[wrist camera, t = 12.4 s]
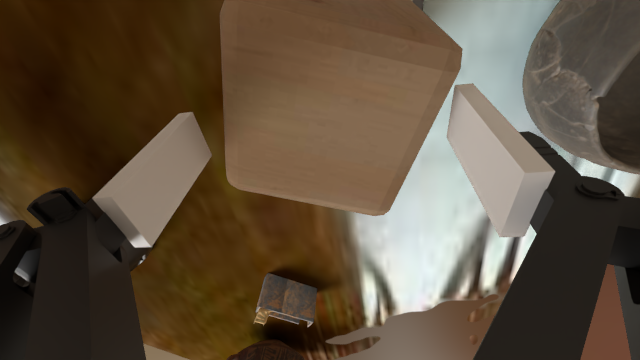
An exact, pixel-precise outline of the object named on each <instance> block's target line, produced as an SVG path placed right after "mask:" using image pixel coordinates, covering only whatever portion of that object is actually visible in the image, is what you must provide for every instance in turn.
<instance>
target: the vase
mask: <svg viewBox="0 0 640 360" xmlns="http://www.w3.org/2000/svg"><path fill="white" fill-rule="evenodd" d="M227 360H305V359H304V358H303V357H302V356H301V355H300V354H299V353H298V352H297V351H296V350H294V349H292V348H291V347H289V346H288V345H286V344H284V343H283V342H282V341H280V340H277V339H272V340H265V341H260V342H257V343H255V344H253V345H251V346H249V347H247V348H245V349H243V350H242V351H240V352H239V353H238V354H234V355H231V356H230V357H228V358H227Z"/></svg>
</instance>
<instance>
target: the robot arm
mask: <svg viewBox="0 0 640 360" xmlns="http://www.w3.org/2000/svg"><path fill="white" fill-rule="evenodd" d="M447 139H448V141H449V143H450V145H451V146H452V148H453V150H454V152H455V154H456V156H457V158H458V160H459V161H460V163H461V165H462V167H463V169H464V171H465V173H466V175H467V177H468V178H469V180H470V182H471V184H472V186H473V188H474V190H475V192H476V193H477V195H478V197H479V199H480V201H481V203H482V205H483V207H484V209H485V210H486V212H487V214H488V216H489V218H490V220H491V222H492V224H493V225H494V227H495V229H496V231H497V233H498V235H499V237H523V236H525V234H526V232H527V230H528V228H529V226H530V224H531V226H532V227H533V229H534V230H535V232H536V233H537V235H536V237H535V239H534V241H533V242H532V244H531V246H530V248H529V250H528V252H527V254H526V256H525V258H524V260H523V262H522V264H521V266H520V268H519V270H518V272H517V274H516V276H515V278H514V280H513V282H512V284H511V286H510V288H509V289H508V291H507V293H506V295H505V297H504V299H503V301H502V303H501V305H500V307H499V309H498V311H497V313H496V315H495V317H494V319H493V321H492V323H491V325H490V327H489V329H488V331H487V333H486V335H485V337H484V338H483V340H482V342H481V345H480V346H479V349H478V350H477V352H476V354H475V356H474V358H473V360H580V358H581V355H582V351H583V348H584V344H585V341H586V337H587V333H588V330H589V327H590V323H591V320H592V316H593V313H594V309H595V306H596V302H597V299H598V295H599V292H600V288H601V285H602V281H603V277H604V274H605V270H606V266H607V264H611V265H614V268H615V274H616V279H617V285H618V290H619V295H620V301H621V306H622V311H623V317H624V322H625V327H626V333H627V338H628V343H629V348H630V354H631V360H640V198H634V197H627V196H625V195H624V194H623V192H622V191H621V190H620V189H619V188H617V187H616V186H614V185H612V184H611V183H609V182H606V181H603V180H601V179H598V178H593V177H587V176H581V175H580V174H579V173H578V172H577V171H576V170H575V169H574V168H573V167H572V166H571V165H570V164H569V163H568V162H567V161H566V160H565V159H564V158H563V157H562V156H560V155H558V153H557V152H556V151H555V150H554V149H553V148H551V146H550V145H549V144H548V143H547V142H546V141H545V140H544V139H543V138H541V137H539V136H537V135H535V134H533V133H531V132H529V131H528V132H518V131H517V130H516V129H515V128H514V127H513V126H512V125H511V124H510V123H509V122H508V121H507V119H506V118H505V117H504V116H503V115H502V114H501V113H500V112H499V111H498V110H497V109H496V108H495V107H494V106H493V105H492V104H491V102H490V101H489V100H488V99H487V98H486V97H485V96H484V95H483V94H482V93H481V92H480V91H479V90H478V89H477V88H476V86H475V85H474V84H473V83H472V84H462V85H455V88H454V94H453V100H452V107H451V113H450V119H449V125H448V131H447ZM211 156H212V154H211V152H210V150H209V148H208V146H207V143H206V141H205V139H204V137H203V134H202V132H201V130H200V128H199V126H198V123H197V121H196V119H195V117H194V114H193V112H188V113H179V114H178V115H177V116H176V117H175V118H174V119H173V120H172V121H171V122H170V123H169V124H168V125H167V126H166V127H165V128H164V129H163V130H162V131H161V132H160V133H159V134H158V135H156V136H155V137H154V138H153V139H152V140H151V141H150V142H149V143H148V144H147V145H146V146H145V147H144V148H143V149H142V150H141V151H140V152H139V153H138V154H137V155H136V156H135V157H134V158H133V159H132V160H131V161H130V162H129V163H128V164H127V165H126V166H125V167H124V168H123V169H121V170H120V171H119V172H118V173H117V174H116V175H115V176H114V177H113V178H112V179H111V180H110V181H109V182H108V183H107V184H106V185H105V186H104V187H103V188H102V189H101V190H100V191H98V192H97V193H96V194H95V195H94V196H93V197H92V198H91V199H90V200H89V201H88V202H87V203H86V204H84V203H83V202H82V201H81V200H80V199H79V198H78V197H77V195H76V194H75V193H74V192H73V191H72V190H71V189H70V188H66V187H65V188H58V189H55V190H52V191H50V192H47V193H45V194H43V195H41V196H40V197H38V198H37V199H35V200H34V201H33V202H32V203H31V204H29V206H28V208H27V210H28V211H29V212H30V213H31V214H32V215H33V216H35V217H36V218H37V219H38V220H39V221H40V222H41V223H42V224H43V225H44V226H41V227H38V228H34V229H33V228H32V227H31V226H30V225H28V224H27V223H26V222H25V221H24V220H17V221H12V222H9V223H7V224H3V225H1V226H0V360H146V357H145V351H144V346H143V340H142V335H141V329H140V324H139V318H138V313H137V308H136V302H135V297H134V291H133V286H132V280H131V275H130V272H131V271H132V270H133V269H134V268H135V267H137V266H138V265H139V264H140V263H142V262H143V261H144V260H145V259H146V258H147V256H148V255H149V253H150V252H151V250H152V248H153V244H154V242H155V241H156V239H157V238H158V236H159V235H160V233H161V232H162V230H163V229H164V227H165V226H166V224H167V223H168V221H169V220H170V218H171V217H172V215H173V214H174V212H175V211H176V209H177V208H178V206H179V205H180V203H181V202H182V200H183V198H184V197H185V195H186V194H187V192H188V191H189V189H190V188H191V186H192V185H193V183H194V182H195V180H196V179H197V177H198V176H199V174H200V173H201V171H202V170H203V168H204V167H205V165H206V164H207V162H208V161H209V159H210V157H211Z"/></svg>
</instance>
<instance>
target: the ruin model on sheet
mask: <svg viewBox="0 0 640 360" xmlns="http://www.w3.org/2000/svg"><path fill="white" fill-rule="evenodd" d="M316 294H317V288H314V287H311V286H308V285H305V284H302V283H298V282H295V281H292V280H289V279H286V278H283V277H279V276H276V275H273V274H270V273H268V274H267V275H266V277H265V279H264V282H263V286H262V290H261V293H260V297H259V301H258V305H257V308H256V312H258V310H259V309H260V308H263V309H260V310H259V312H258V314H257V316H256V318H255V321H254V323H255V322H258V323H261V324H263V326H264V324H265V323H266V321H267V318H268V316H272V317H276V318H279V319H283V320H286V321H290V322H293V323H297V324H299V321H300V319H301V320H305V321H308V325H307V327H309V326H310V325H311V324H312V323H313V322H314V313H315V304H316Z"/></svg>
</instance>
